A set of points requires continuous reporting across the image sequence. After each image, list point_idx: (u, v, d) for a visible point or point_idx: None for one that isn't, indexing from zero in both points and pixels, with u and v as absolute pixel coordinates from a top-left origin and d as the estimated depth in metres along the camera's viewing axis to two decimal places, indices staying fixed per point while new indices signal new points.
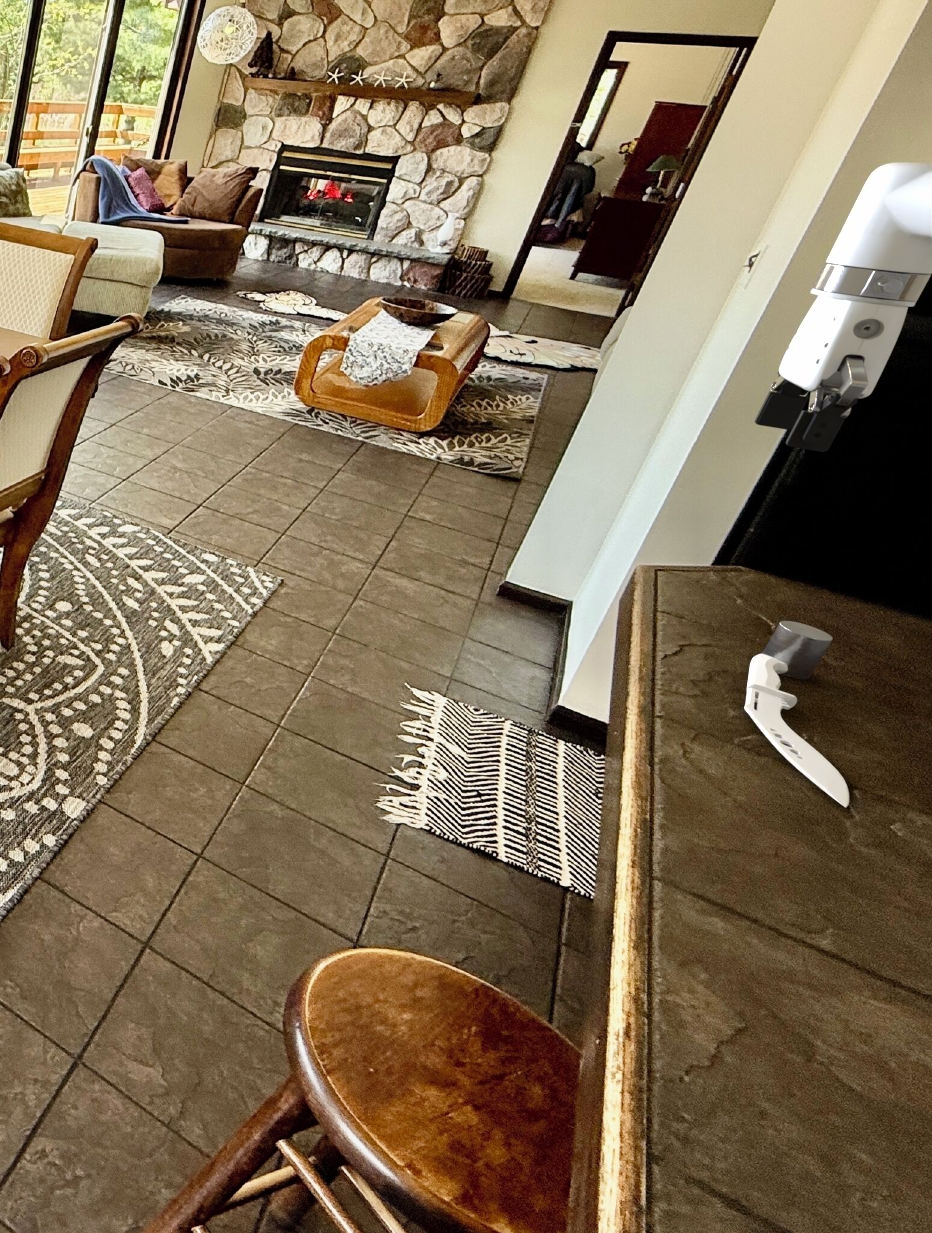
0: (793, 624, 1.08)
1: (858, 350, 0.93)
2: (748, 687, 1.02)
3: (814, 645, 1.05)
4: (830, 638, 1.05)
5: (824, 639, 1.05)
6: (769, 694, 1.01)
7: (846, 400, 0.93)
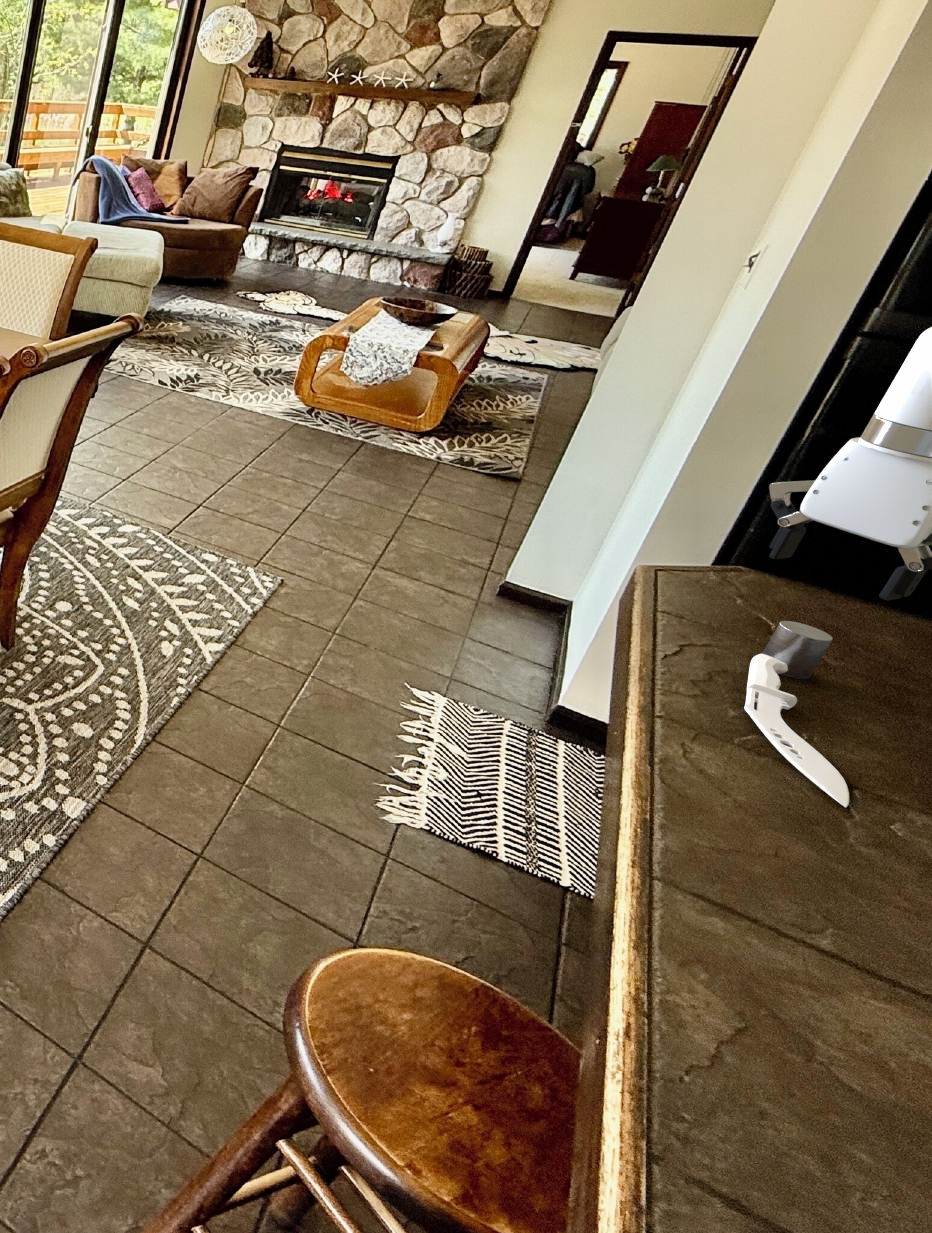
0: (793, 624, 1.08)
1: None
2: (748, 687, 1.02)
3: (814, 645, 1.05)
4: (830, 638, 1.05)
5: (824, 639, 1.05)
6: (769, 694, 1.01)
7: None
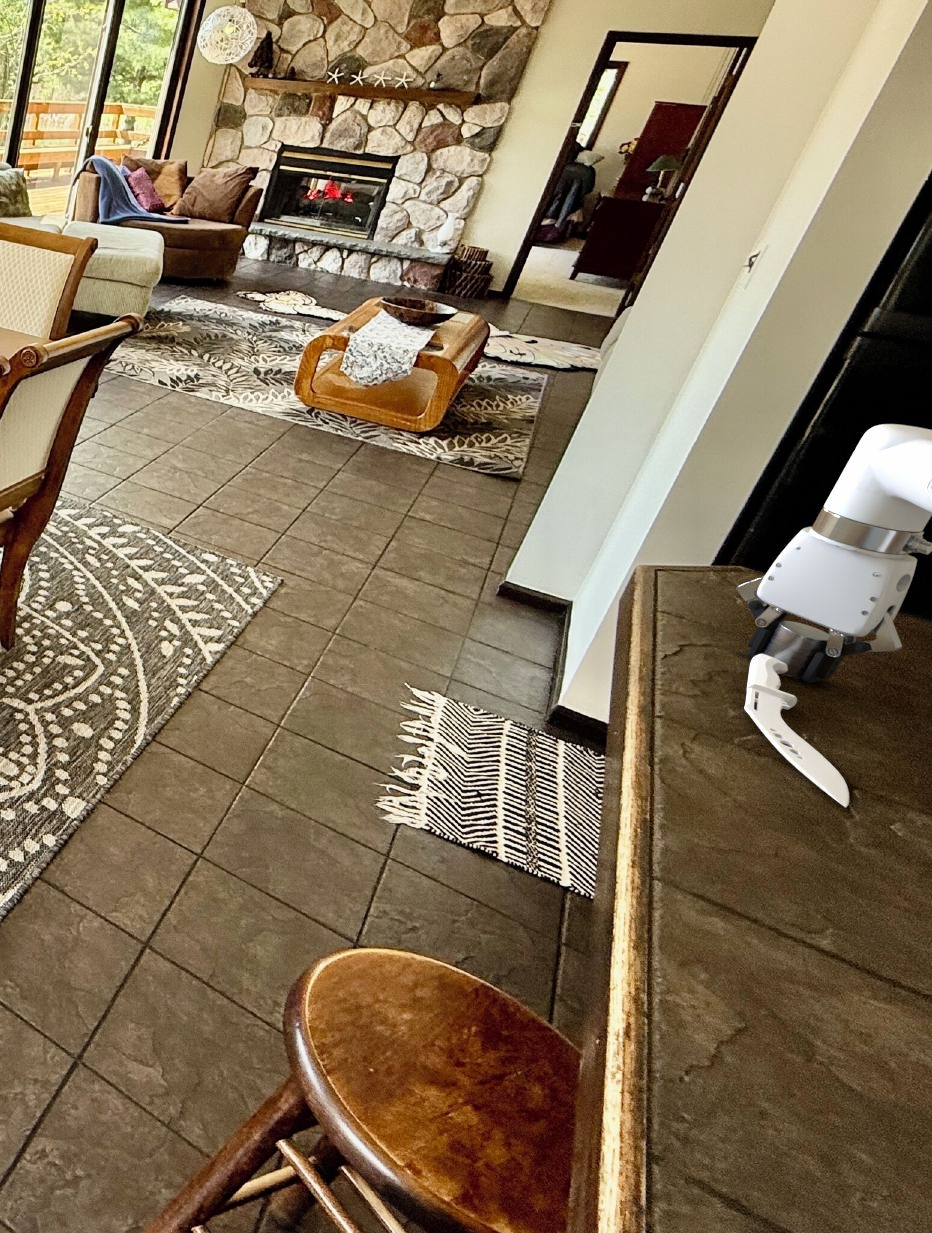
0: (793, 624, 1.08)
1: (895, 601, 1.00)
2: (748, 687, 1.02)
3: (814, 645, 1.05)
4: None
5: (824, 639, 1.05)
6: (769, 694, 1.01)
7: (871, 651, 1.02)
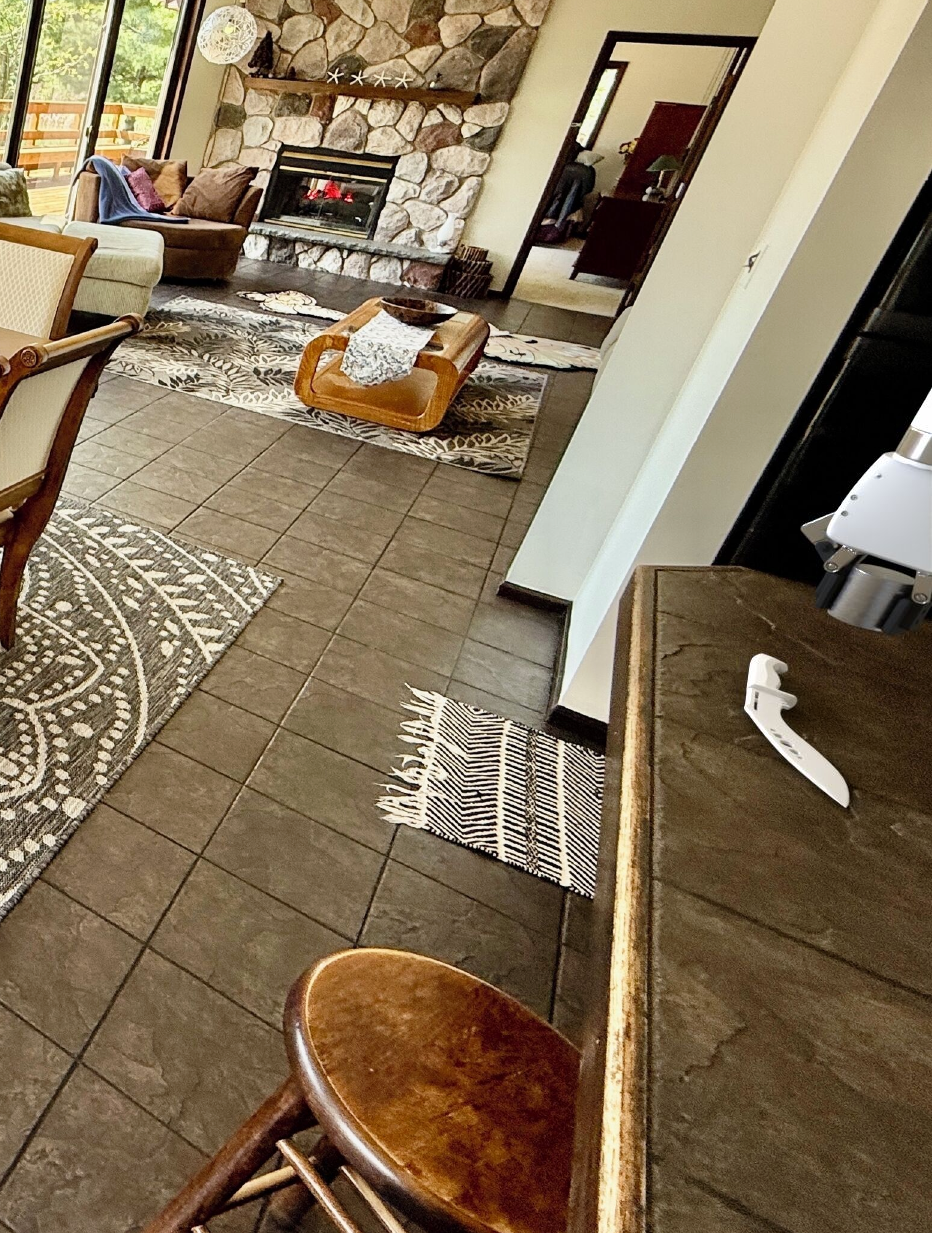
0: (871, 567, 0.92)
1: None
2: (748, 687, 1.02)
3: (898, 590, 0.89)
4: None
5: (910, 583, 0.89)
6: (769, 694, 1.01)
7: None
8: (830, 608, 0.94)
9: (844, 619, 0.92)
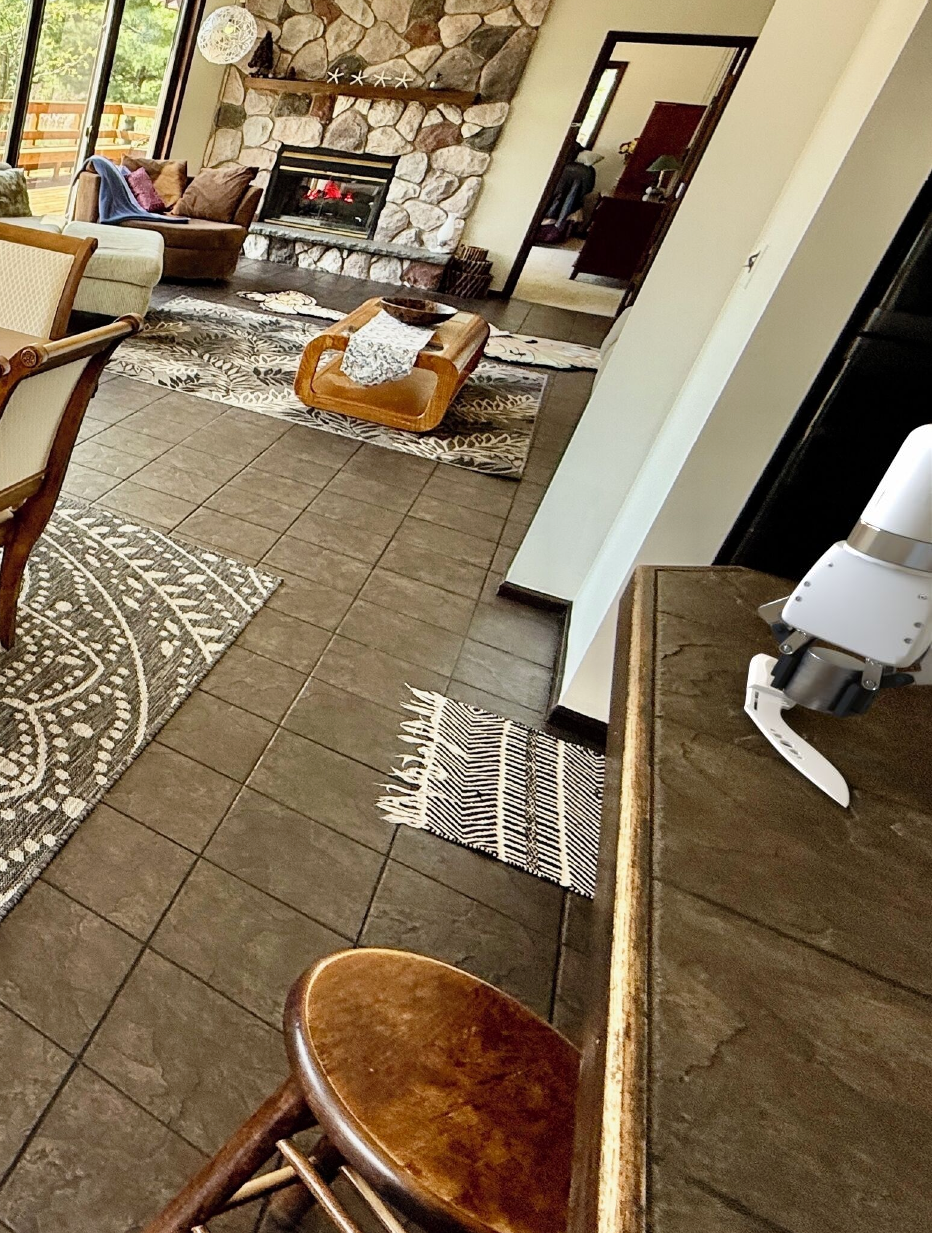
0: (823, 651, 0.95)
1: None
2: (748, 687, 1.02)
3: (848, 675, 0.92)
4: None
5: (860, 669, 0.92)
6: (769, 694, 1.01)
7: (914, 684, 0.89)
8: (785, 689, 0.97)
9: (798, 701, 0.95)
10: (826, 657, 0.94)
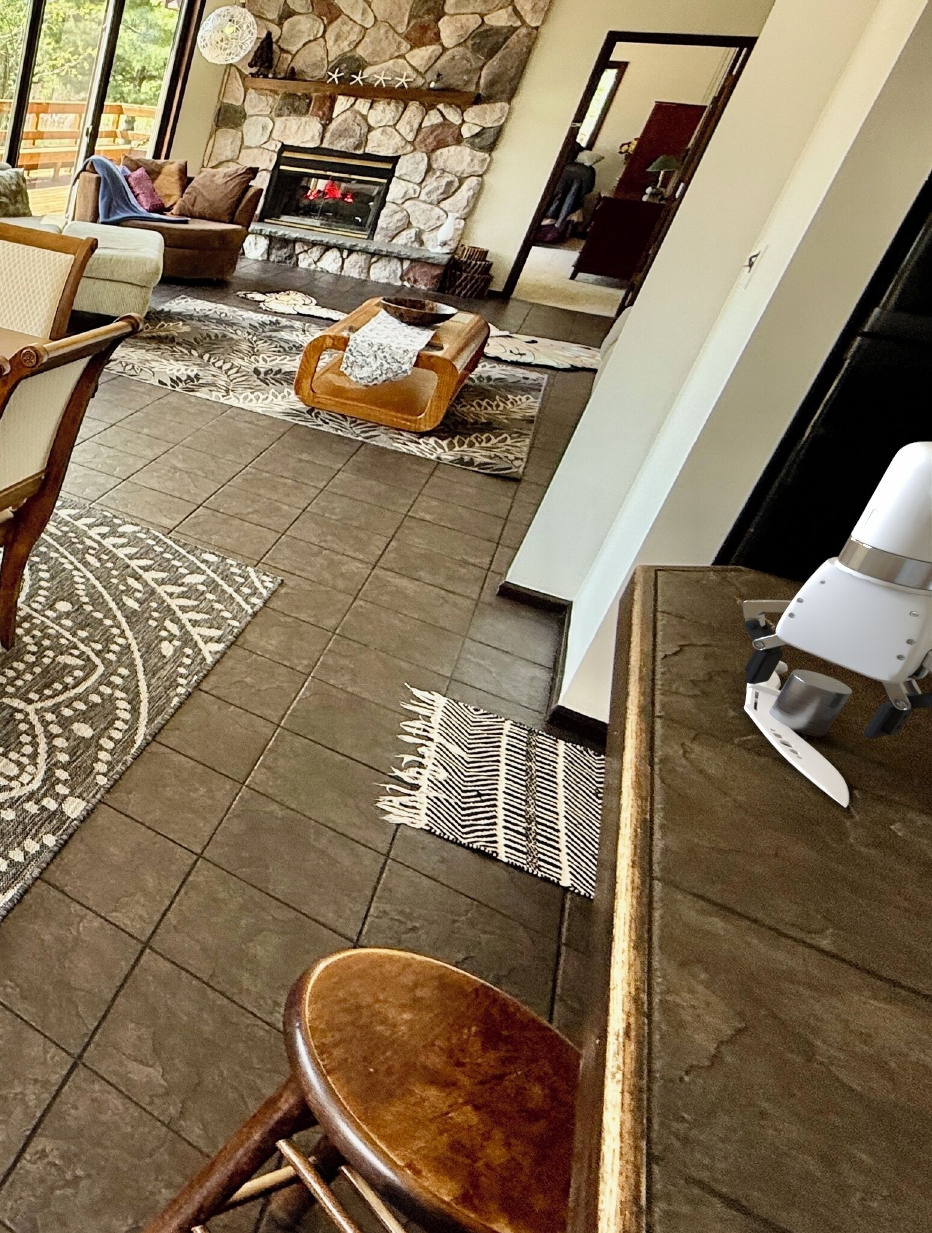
0: (808, 674, 0.96)
1: None
2: (748, 687, 1.02)
3: (832, 698, 0.93)
4: (850, 690, 0.93)
5: (843, 693, 0.93)
6: (769, 694, 1.01)
7: None
8: (770, 711, 0.98)
9: (783, 723, 0.96)
10: (810, 680, 0.95)
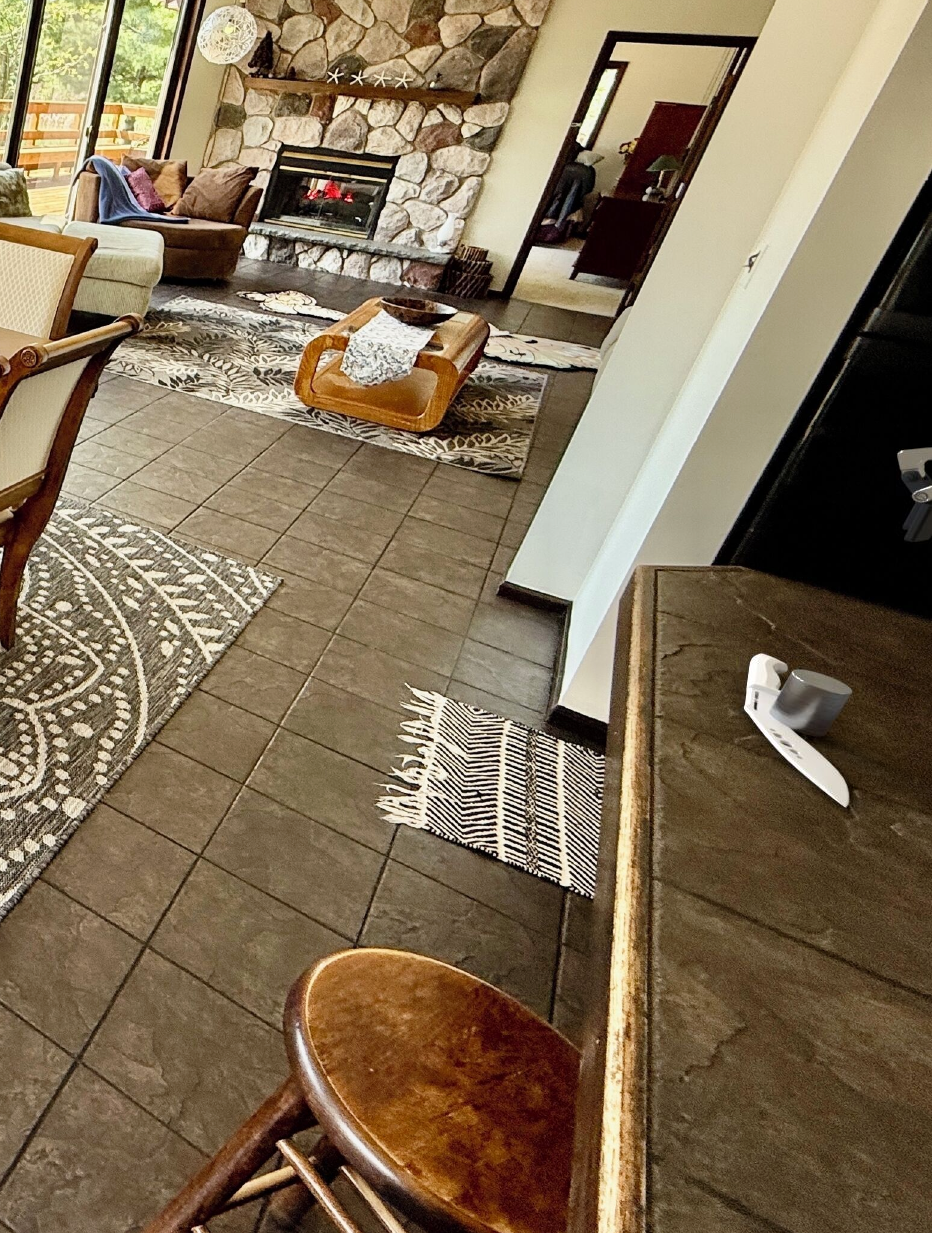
0: (808, 674, 0.96)
1: None
2: (748, 687, 1.02)
3: (832, 698, 0.93)
4: (850, 690, 0.93)
5: (843, 692, 0.93)
6: (769, 694, 1.01)
7: None
8: (770, 711, 0.98)
9: (783, 723, 0.96)
10: (810, 680, 0.95)
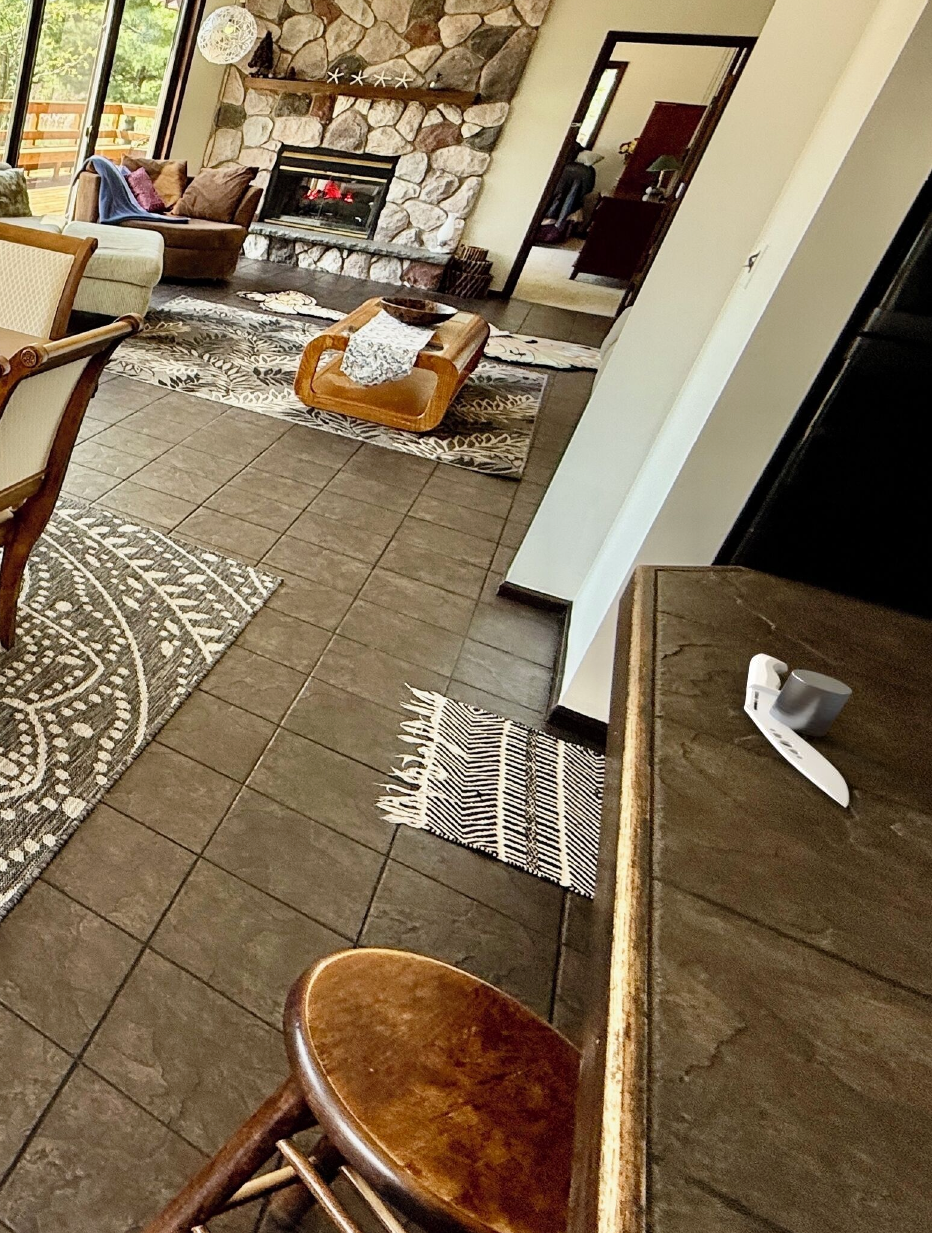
0: (808, 674, 0.96)
1: None
2: (748, 687, 1.02)
3: (832, 698, 0.93)
4: (850, 690, 0.93)
5: (843, 693, 0.93)
6: (769, 694, 1.01)
7: None
8: (770, 711, 0.98)
9: (783, 723, 0.96)
10: (810, 680, 0.95)
